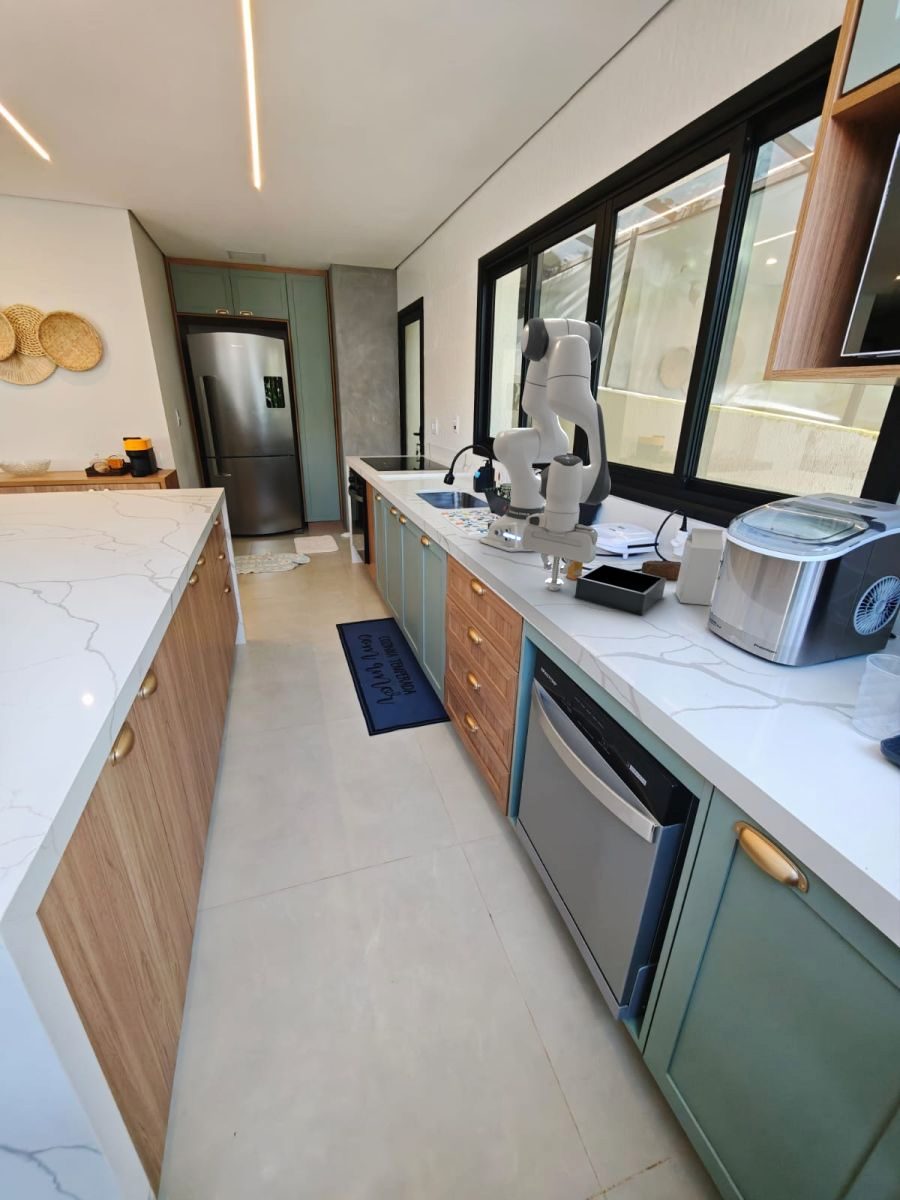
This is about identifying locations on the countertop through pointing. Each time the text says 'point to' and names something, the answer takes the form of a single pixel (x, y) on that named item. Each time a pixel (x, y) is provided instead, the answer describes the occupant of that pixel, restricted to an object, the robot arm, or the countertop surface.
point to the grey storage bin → (620, 588)
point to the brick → (662, 569)
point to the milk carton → (699, 566)
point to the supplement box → (575, 570)
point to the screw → (554, 576)
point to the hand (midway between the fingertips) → (555, 571)
